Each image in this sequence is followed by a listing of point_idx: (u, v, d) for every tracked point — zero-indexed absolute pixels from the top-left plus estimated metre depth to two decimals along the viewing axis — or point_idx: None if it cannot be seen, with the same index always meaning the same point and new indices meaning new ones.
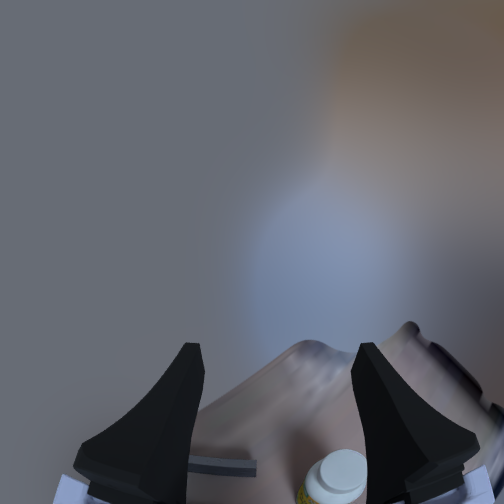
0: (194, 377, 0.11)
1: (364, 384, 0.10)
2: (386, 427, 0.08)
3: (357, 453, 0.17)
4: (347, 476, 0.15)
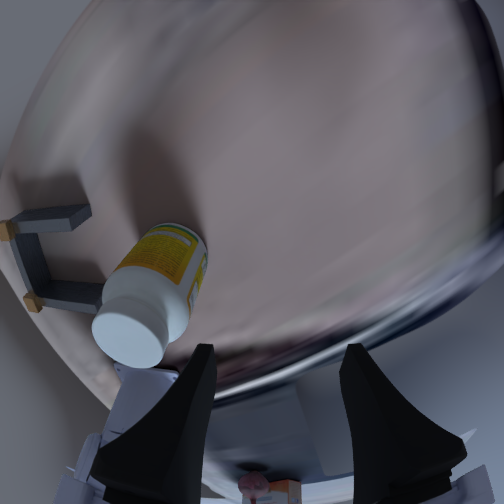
0: (208, 378, 0.11)
1: (351, 385, 0.10)
2: (371, 430, 0.08)
3: (141, 326, 0.12)
4: (131, 353, 0.13)
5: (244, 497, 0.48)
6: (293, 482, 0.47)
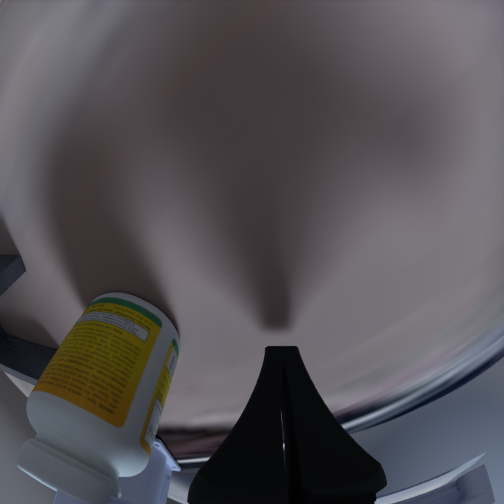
0: None
1: (283, 389, 0.10)
2: (290, 438, 0.08)
3: (72, 496, 0.04)
4: None
5: None
6: None
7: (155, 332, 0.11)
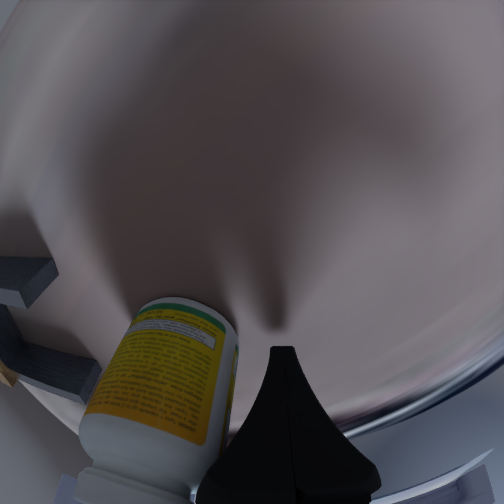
0: None
1: None
2: None
3: None
4: None
5: None
6: None
7: (221, 338, 0.11)
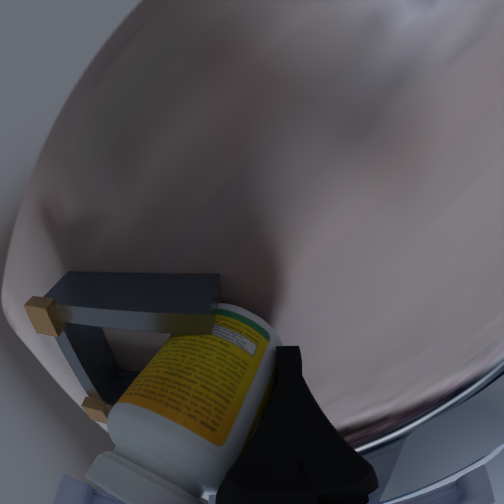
0: None
1: None
2: None
3: None
4: None
5: None
6: None
7: (263, 346, 0.11)
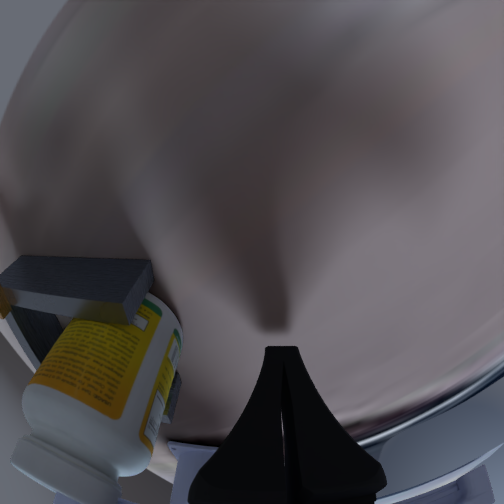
0: None
1: (283, 389, 0.10)
2: (290, 438, 0.08)
3: (65, 494, 0.04)
4: None
5: None
6: None
7: (155, 321, 0.11)
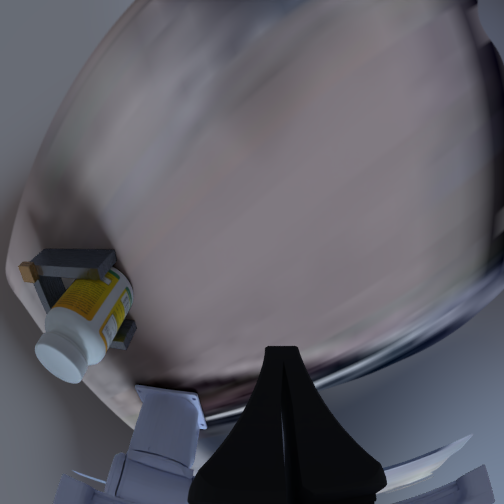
0: None
1: (283, 389, 0.10)
2: (290, 438, 0.08)
3: (60, 353, 0.14)
4: (62, 372, 0.15)
5: None
6: None
7: (115, 281, 0.21)
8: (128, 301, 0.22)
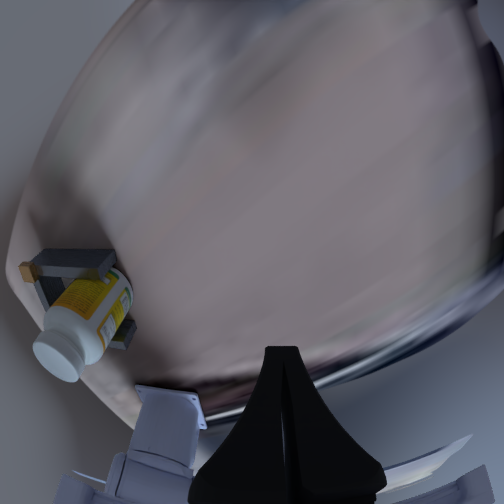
0: None
1: (283, 389, 0.10)
2: (290, 438, 0.08)
3: (56, 352, 0.14)
4: (60, 370, 0.15)
5: None
6: None
7: (114, 281, 0.20)
8: (127, 301, 0.21)
